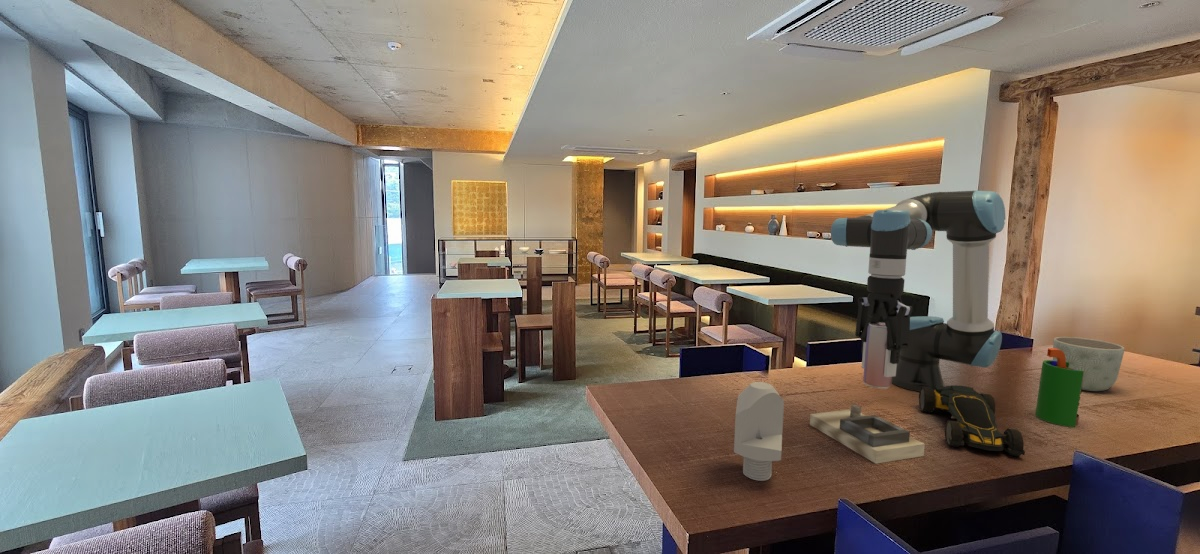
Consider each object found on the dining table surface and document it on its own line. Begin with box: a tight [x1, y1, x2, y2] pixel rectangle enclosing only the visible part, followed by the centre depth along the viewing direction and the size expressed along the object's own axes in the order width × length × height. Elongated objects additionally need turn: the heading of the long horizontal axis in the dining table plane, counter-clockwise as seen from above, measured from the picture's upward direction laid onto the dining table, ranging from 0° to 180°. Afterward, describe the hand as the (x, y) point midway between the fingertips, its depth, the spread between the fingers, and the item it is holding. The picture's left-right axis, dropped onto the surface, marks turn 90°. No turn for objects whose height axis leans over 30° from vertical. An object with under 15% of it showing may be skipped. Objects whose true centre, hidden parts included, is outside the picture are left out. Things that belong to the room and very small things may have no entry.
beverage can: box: [862, 321, 893, 390], centre depth 119 cm, size 6×6×15 cm
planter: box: [1052, 336, 1126, 392], centre depth 166 cm, size 17×17×15 cm
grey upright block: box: [733, 381, 785, 482], centre depth 107 cm, size 9×9×20 cm
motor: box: [1034, 347, 1084, 428], centre depth 138 cm, size 10×9×20 cm
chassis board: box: [809, 404, 926, 465], centre depth 125 cm, size 22×14×6 cm, turn 16°
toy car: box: [918, 384, 1026, 457], centre depth 131 cm, size 16×32×10 cm, turn 158°
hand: (878, 371), depth 119 cm, fingers closed on beverage can, 6 cm apart
